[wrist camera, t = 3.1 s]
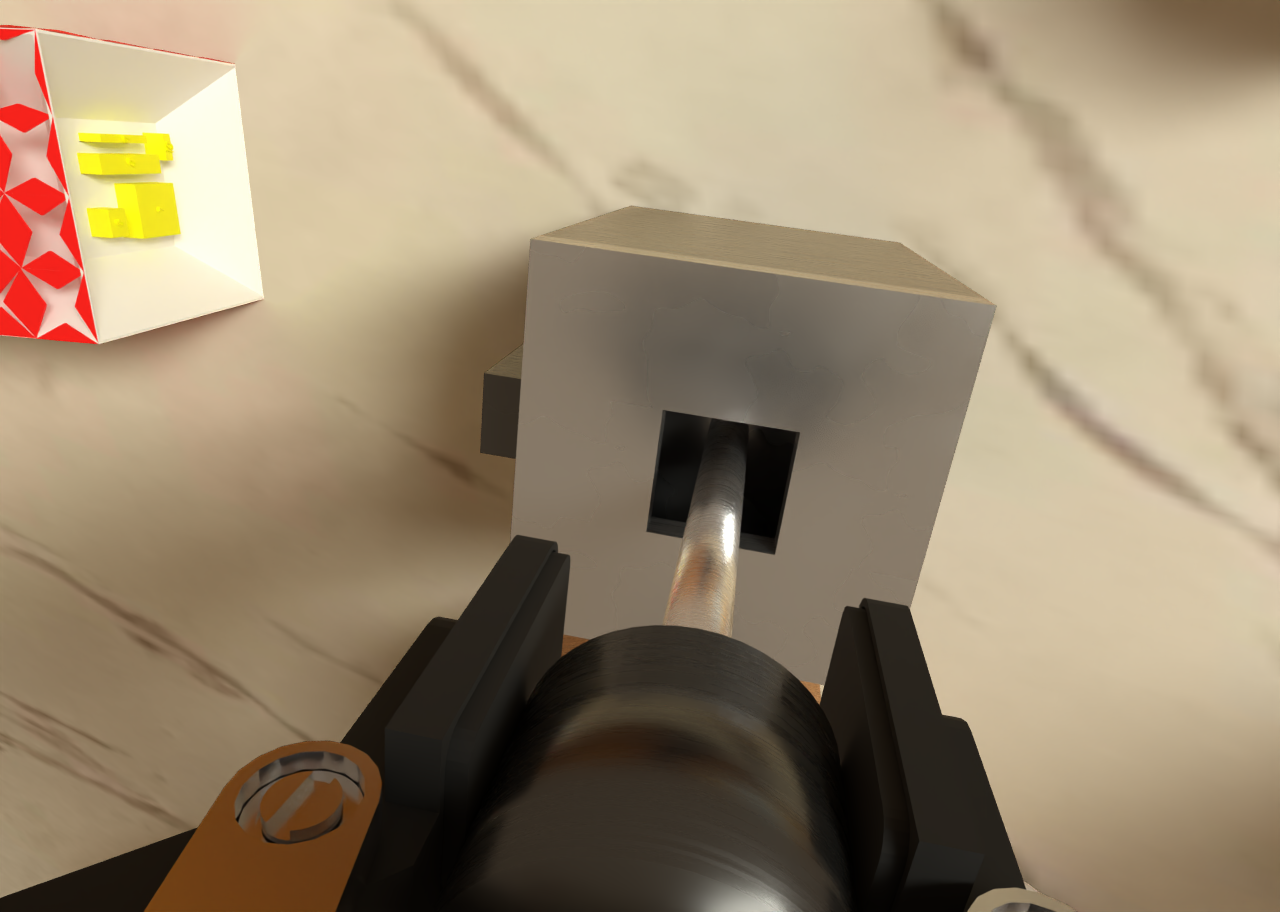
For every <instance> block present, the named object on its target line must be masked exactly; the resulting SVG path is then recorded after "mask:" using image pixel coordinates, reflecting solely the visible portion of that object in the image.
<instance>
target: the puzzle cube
mask: <svg viewBox="0 0 1280 912" xmlns="http://www.w3.org/2000/svg"><path fill="white" fill-rule="evenodd" d="M22 28H30V27H21V26H13V25H0V335H1V336H13V337H24V338H35V339H47V340H58V341H69V342H80V343H92V344H101V343H105V342H109V341H112V340H116V339H120V338H123V337H127V336H131V335H134V334H138V333H142V332H145V331H149V330H152V329H156V328H160V327H163V326H167V325H171V324H174V323H178V322H182V321H185V320H189V319H193V318H196V317H200V316H203V315H207V314H211V313H214V312H218V311H222V310H225V309H229V308H233V307H236V306H240V305H244V304H247V303H251V302H254V301H258V300H262V299H264V297H263V290H262V282H261V273H260V265H259V257H258V249H257V241H256V233H255V225H254V216H253V208H252V200H251V192H250V184H249V176H248V168H247V159H246V151H245V143H244V135H243V127H242V119H241V111H240V102H239V94H238V86H237V78H236V70H235V67H236V66H235V64H234V63H233V64H232V63H229V62H224V61H219V60H214V59H209V58H204V57H199V58H197V57H195V56H194V57H191V56H190V55H185V54H180V53H175V52H169V51H164V50H158V49H154V50H152V49H150V48H149V49H146V48H145V47H141V46H136V45H131V44H126V43H121V42H116V41H110V40H102V41H101V40H100V39H99V40H95V38H92V39H90V37H86V36H82V35H77V34H73V33H69V32H64V31H60V30H50V29H41V30H39V28H37V29H22ZM45 30H46V31H45ZM78 36H79V37H78ZM84 37H86V38H84Z"/></svg>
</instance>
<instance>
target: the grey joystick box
mask: <svg viewBox="0 0 1280 912" xmlns="http://www.w3.org/2000/svg"><path fill="white" fill-rule="evenodd" d="M995 310H996V305H995V304H993V303H992V302H990V301H989V300H987V299H985V298H984V297H982V296H981V295H979V294H978V293H976V292H975V291H973V290H972V289H970V288H969V287H967V286H966V285H964V284H962V283H961V282H959V281H958V280H956V279H955V278H953V277H952V276H950V275H949V274H947V273H946V272H944V271H943V270H941V269H939V268H938V267H936V266H935V265H933V264H932V263H930V262H929V261H927V260H926V259H924V258H923V257H921V256H920V255H918V254H916V253H915V252H913V251H912V250H910V249H909V248H907V247H906V246H904V245H903V244H901V243H898V242H891V241H883V240H876V239H869V238H862V237H854V236H847V235H840V234H832V233H825V232H818V231H811V230H803V229H796V228H789V227H781V226H774V225H767V224H760V223H752V222H745V221H738V220H730V219H723V218H716V217H709V216H701V215H694V214H687V213H679V212H672V211H665V210H658V209H650V208H643V207H636V206H629V207H626V208H623V209H620V210H617V211H614V212H611V213H608V214H605V215H602V216H599V217H596V218H593V219H589V220H586V221H583V222H580V223H577V224H574V225H571V226H568V227H565V228H562V229H559V230H556V231H553V232H550V233H547V234H544V235H541V236H538V237H535V238H532V239H531V240H530V255H529V270H528V285H527V300H526V315H525V330H524V344H523V345H521V346H520V347H519V348H517V349H516V350H515V351H513V352H512V353H511V354H509V355H508V356H507V357H505V358H504V359H502V360H501V361H500V362H498V363H497V364H496V365H494V366H493V367H492V368H490V369H489V370H488V371H486V372H485V373H484V387H483V408H482V428H481V449H480V453H485V454H491V455H497V456H503V457H508V458H514V459H516V465H515V480H514V495H513V510H512V525H511V540H510V543H511V541H512V540H513V538H514V537H515V536H516V535H522V536H527V537H533V538H538V539H544V540H549V541H555V542H557V544H558V553H562V554H568V555H570V574H569V584H568V594H567V604H566V614H565V624H564V635H569V636H574V637H579V638H585V639H590V640H591V639H593V638H595V637H598V636H601V635H604V634H607V633H609V632H613V631H617V630H622V629H626V628H631V627H640V626H650V625H662V624H663V620H664V616H665V611H666V607H667V603H668V599H669V594H670V590H671V586H672V582H673V577H674V573H675V569H676V565H677V560H678V556H679V552H680V548H681V543H682V539H683V535H684V531H685V527H686V523H685V522H680V521H674V520H668V519H663V518H657V517H655V516H653V515H652V508H653V501H654V493H655V486H656V479H657V472H658V465H659V457H660V450H661V443H662V436H663V429H664V421H665V414H666V410H667V411H673V412H679V413H685V414H691V415H697V416H703V417H709V418H716V419H722V420H728V421H734V422H740V423H746V424H752V425H758V426H765V427H771V428H777V429H783V430H789V431H795V432H797V433H796V438H795V443H794V447H793V452H792V457H791V462H790V467H789V472H788V477H787V482H786V487H785V491H784V496H783V501H782V506H781V511H780V516H779V521H778V526H777V531H776V535H775V536H773V537H764V536H759V535H753V534H747V533H742V532H740V542H739V554H738V565H737V577H736V589H735V601H734V612H733V624H732V636H731V638H733V639H736V640H738V641H741V642H743V643H745V644H747V645H749V646H751V647H753V648H755V649H757V650H759V651H761V652H763V653H765V654H766V655H768V656H769V657H771V658H772V659H774V660H775V661H777V662H778V663H780V664H781V665H782V666H784V667H785V668H786V669H787V670H788V671H789V672H791V673H792V674H793V675H794V676H795V677H796V678H798V679H799V680H800V681H805V682H810V683H815V684H821V685H825V681H826V677H827V673H828V669H829V665H830V661H831V657H832V653H833V649H834V645H835V641H836V637H837V633H838V629H839V625H840V621H841V617H842V614H843V611H844V608H845V607H846V606H851V607H857V608H859V605H860V603H861V601H862V599H863V598H868V599H874V600H879V601H885V602H890V603H896V604H901V605H906V606H908V607H909V609H910V607H911V604H912V600H913V597H914V593H915V590H916V586H917V583H918V579H919V576H920V572H921V569H922V565H923V562H924V558H925V555H926V551H927V548H928V544H929V541H930V537H931V534H932V530H933V527H934V523H935V520H936V516H937V513H938V509H939V506H940V502H941V499H942V495H943V492H944V488H945V485H946V481H947V478H948V474H949V471H950V467H951V464H952V460H953V457H954V453H955V450H956V446H957V443H958V439H959V436H960V432H961V429H962V425H963V422H964V418H965V415H966V411H967V408H968V404H969V401H970V397H971V394H972V390H973V387H974V383H975V380H976V376H977V373H978V369H979V366H980V362H981V359H982V355H983V352H984V348H985V345H986V341H987V338H988V334H989V331H990V327H991V324H992V320H993V317H994V313H995Z"/></svg>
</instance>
